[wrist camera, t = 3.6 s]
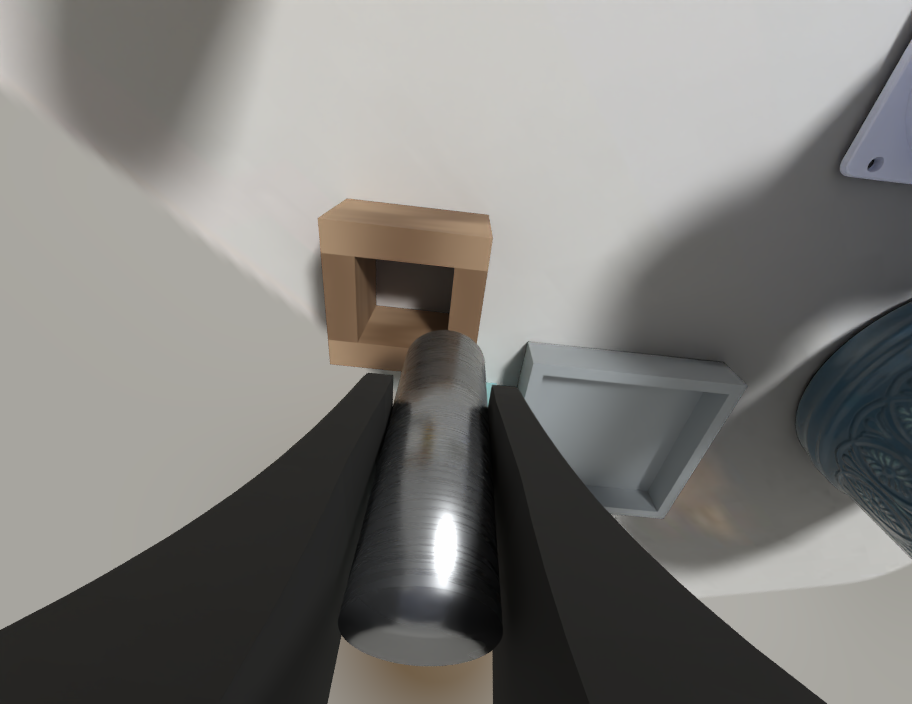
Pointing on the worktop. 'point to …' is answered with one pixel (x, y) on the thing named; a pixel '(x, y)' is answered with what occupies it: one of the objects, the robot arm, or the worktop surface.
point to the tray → (628, 419)
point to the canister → (867, 422)
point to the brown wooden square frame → (405, 240)
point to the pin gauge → (430, 518)
